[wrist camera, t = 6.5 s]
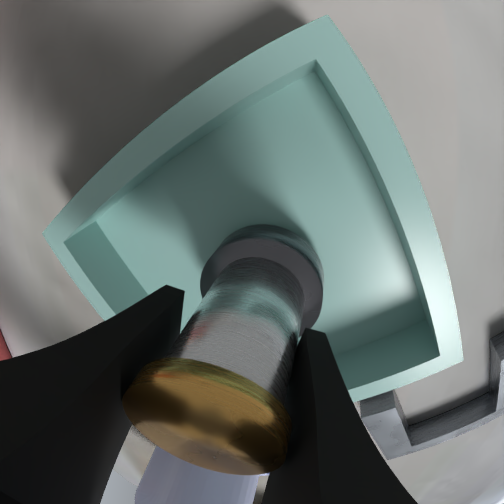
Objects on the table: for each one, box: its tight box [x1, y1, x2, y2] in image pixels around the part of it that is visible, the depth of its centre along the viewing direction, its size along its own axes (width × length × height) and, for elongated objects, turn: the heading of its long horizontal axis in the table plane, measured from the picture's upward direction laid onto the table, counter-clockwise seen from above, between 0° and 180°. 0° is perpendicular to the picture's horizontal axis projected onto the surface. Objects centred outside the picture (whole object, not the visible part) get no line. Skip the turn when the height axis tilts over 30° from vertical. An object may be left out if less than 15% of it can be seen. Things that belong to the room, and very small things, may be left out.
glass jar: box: [122, 224, 324, 475], centre depth 9 cm, size 4×4×7 cm
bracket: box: [360, 332, 504, 460], centre depth 14 cm, size 10×7×2 cm
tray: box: [42, 15, 463, 402], centre depth 11 cm, size 13×13×3 cm
